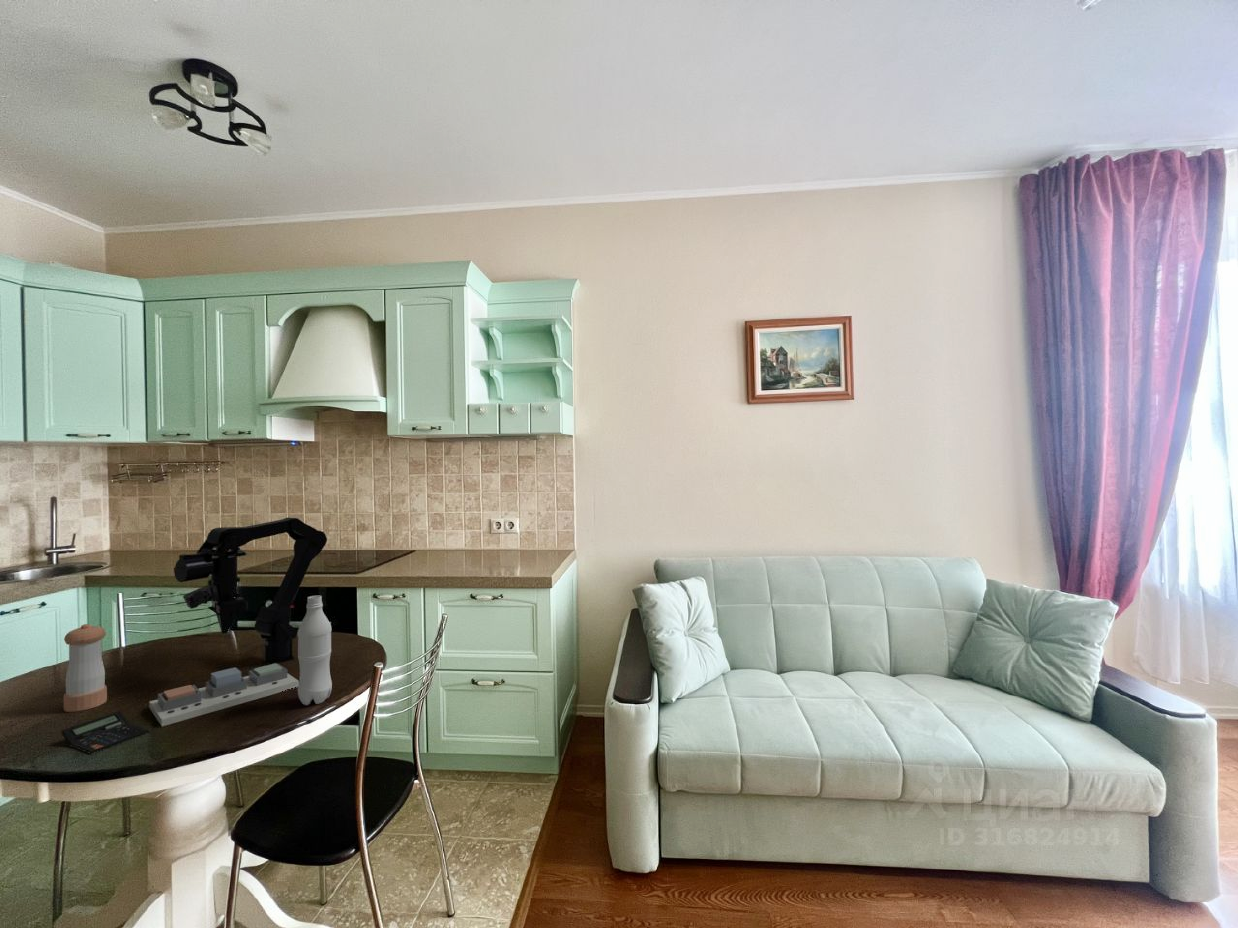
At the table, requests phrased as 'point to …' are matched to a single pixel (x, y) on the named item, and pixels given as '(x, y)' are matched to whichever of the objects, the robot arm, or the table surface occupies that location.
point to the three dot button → (179, 692)
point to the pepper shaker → (85, 669)
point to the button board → (220, 696)
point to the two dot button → (225, 677)
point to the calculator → (102, 733)
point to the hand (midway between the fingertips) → (224, 632)
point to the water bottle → (314, 654)
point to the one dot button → (267, 669)
